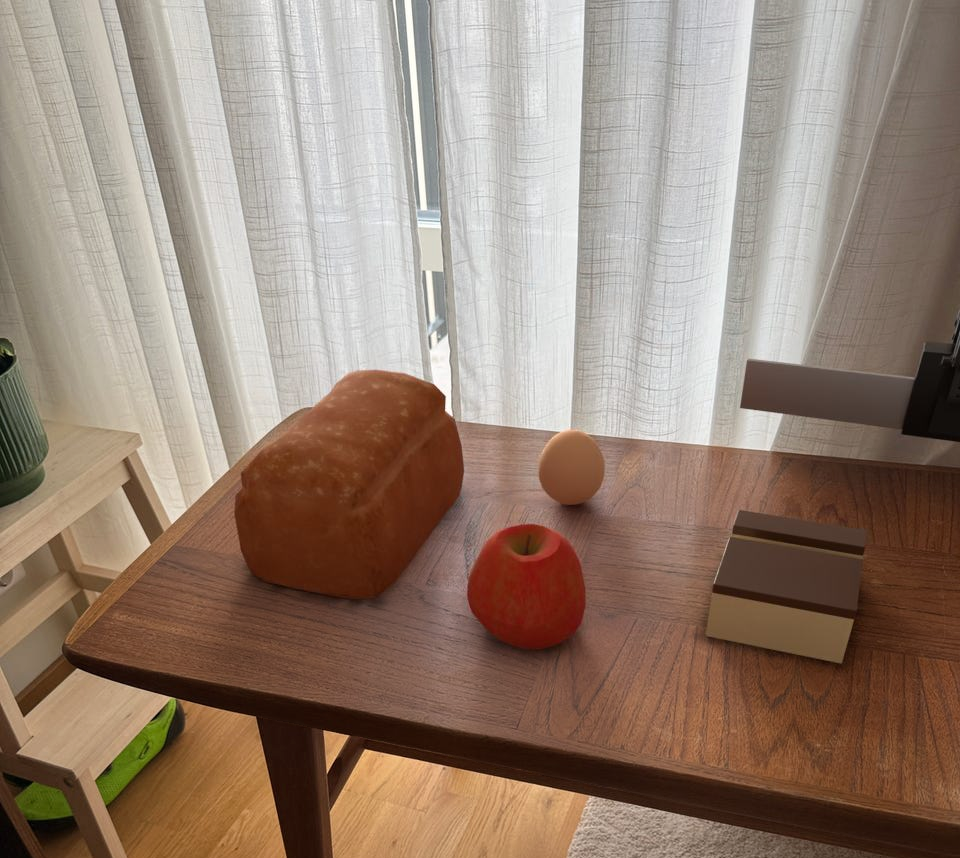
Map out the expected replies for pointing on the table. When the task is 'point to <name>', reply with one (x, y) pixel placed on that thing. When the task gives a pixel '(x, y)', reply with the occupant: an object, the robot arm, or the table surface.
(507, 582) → the apple
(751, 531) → the cake slice
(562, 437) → the egg
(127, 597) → the table surface
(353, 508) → the bread
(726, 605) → the cake
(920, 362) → the knife
